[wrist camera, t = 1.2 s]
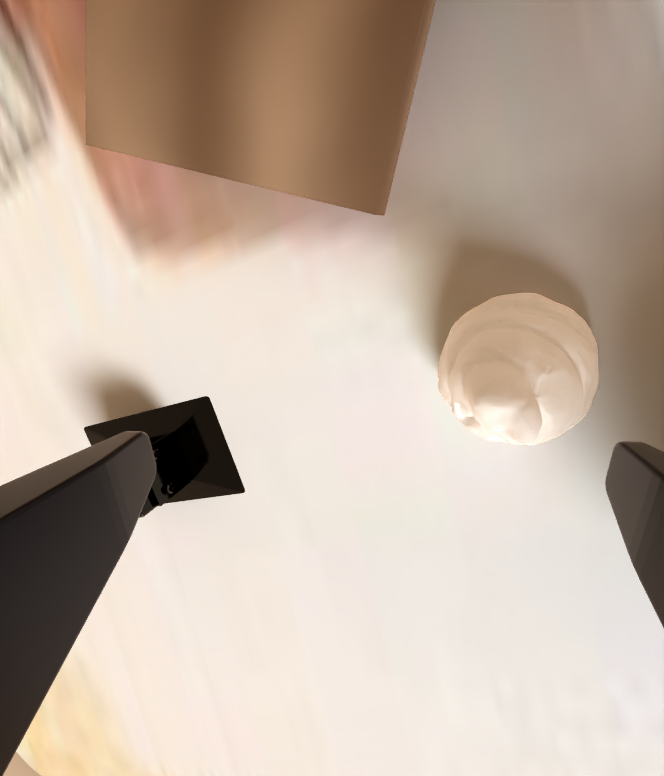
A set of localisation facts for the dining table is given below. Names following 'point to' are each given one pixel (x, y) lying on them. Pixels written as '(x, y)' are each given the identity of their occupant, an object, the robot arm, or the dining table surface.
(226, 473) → the build plate
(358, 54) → the walnut stand
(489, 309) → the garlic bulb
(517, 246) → the dining table surface
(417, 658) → the dining table surface
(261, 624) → the dining table surface
